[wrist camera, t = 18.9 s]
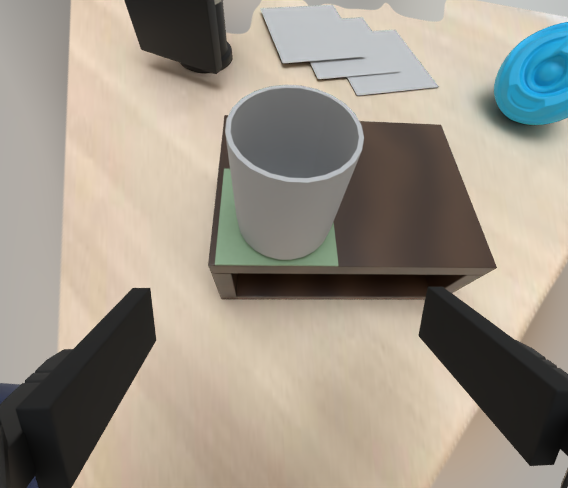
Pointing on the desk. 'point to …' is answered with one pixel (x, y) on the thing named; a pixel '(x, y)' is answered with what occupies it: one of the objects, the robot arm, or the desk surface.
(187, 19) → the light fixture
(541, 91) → the blue rounded piece
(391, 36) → the paper stack
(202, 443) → the desk surface
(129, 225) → the desk surface
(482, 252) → the shelf
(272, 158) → the cup
